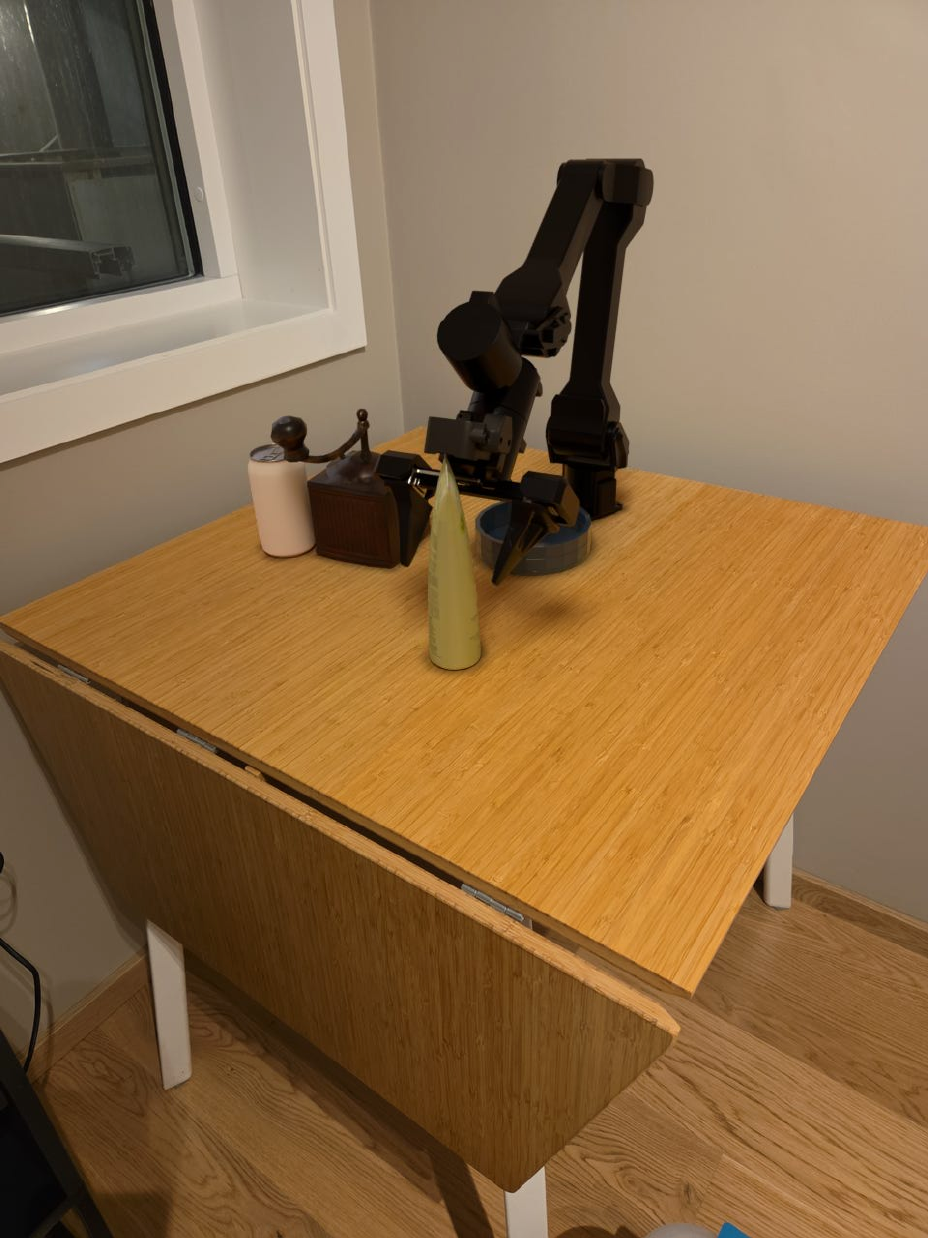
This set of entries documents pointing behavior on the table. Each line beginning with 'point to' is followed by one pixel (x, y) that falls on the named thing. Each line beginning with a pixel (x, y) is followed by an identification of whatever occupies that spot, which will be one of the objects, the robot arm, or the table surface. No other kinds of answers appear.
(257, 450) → the can
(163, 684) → the table surface
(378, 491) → the manual coffee grinder
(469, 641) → the tube
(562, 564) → the basin
